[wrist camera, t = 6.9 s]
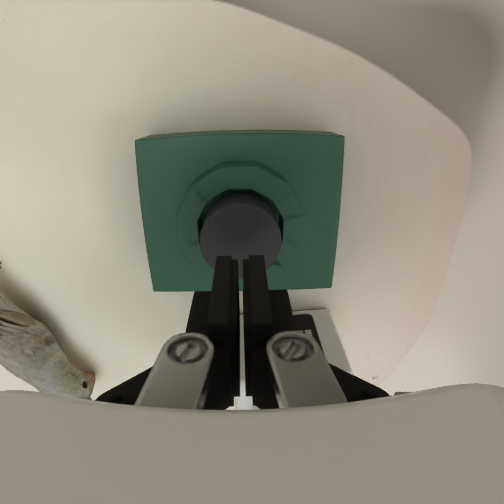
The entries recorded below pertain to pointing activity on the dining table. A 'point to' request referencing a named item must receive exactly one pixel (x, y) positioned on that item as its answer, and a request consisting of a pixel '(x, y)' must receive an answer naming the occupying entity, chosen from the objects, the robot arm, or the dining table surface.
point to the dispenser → (241, 181)
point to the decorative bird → (38, 355)
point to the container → (318, 328)
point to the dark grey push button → (240, 230)
